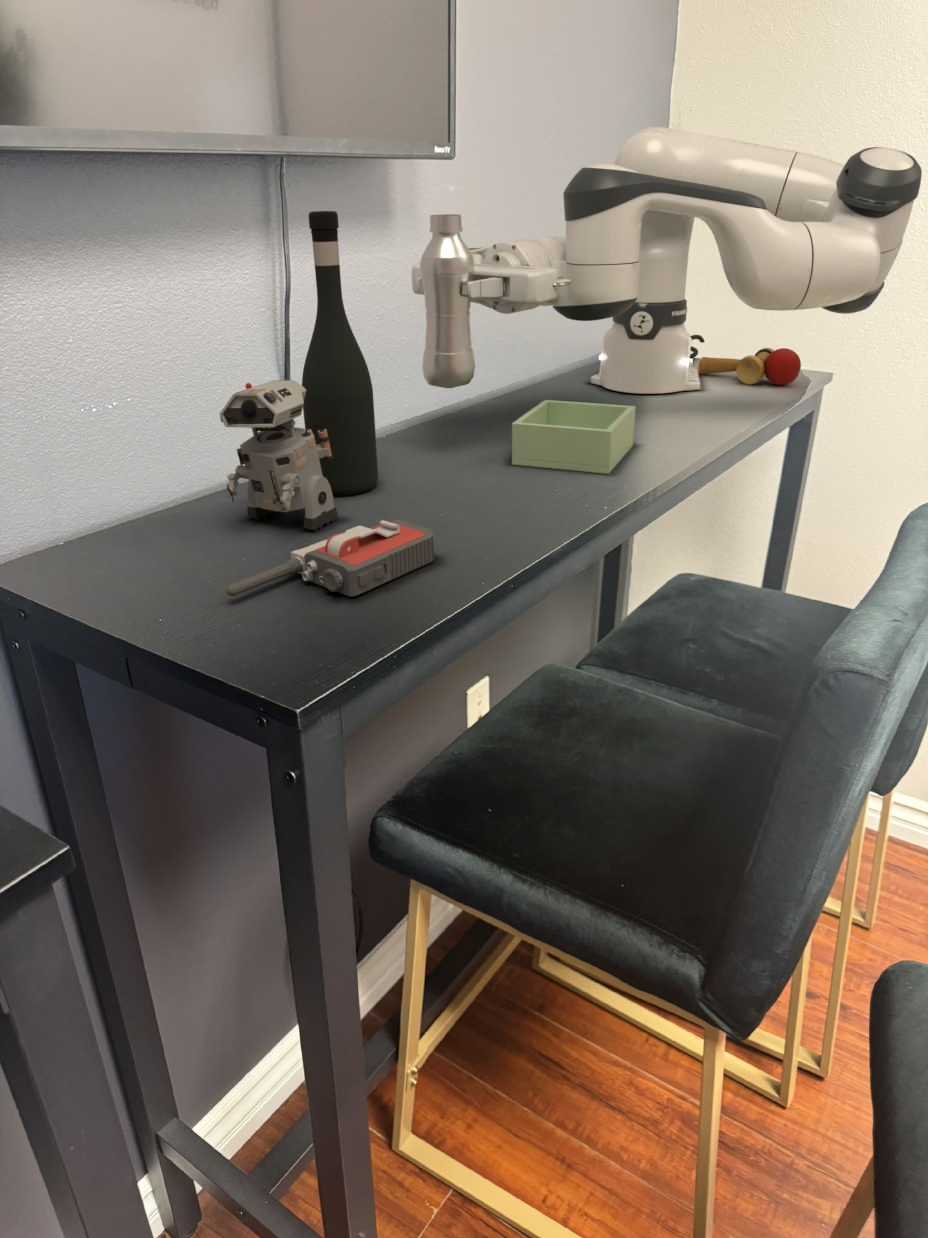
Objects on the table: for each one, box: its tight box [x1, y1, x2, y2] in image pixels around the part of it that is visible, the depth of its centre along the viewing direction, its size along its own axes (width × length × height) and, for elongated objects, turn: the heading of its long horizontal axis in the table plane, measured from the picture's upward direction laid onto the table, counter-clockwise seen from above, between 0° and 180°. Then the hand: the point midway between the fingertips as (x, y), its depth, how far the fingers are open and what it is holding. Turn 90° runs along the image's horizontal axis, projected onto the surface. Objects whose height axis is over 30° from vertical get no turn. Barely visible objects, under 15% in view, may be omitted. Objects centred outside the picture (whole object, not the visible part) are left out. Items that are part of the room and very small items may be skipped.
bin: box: [511, 399, 636, 475], centre depth 116 cm, size 14×13×5 cm
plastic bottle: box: [419, 213, 476, 389], centre depth 110 cm, size 6×7×20 cm
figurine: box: [219, 379, 338, 532], centre depth 92 cm, size 9×12×15 cm
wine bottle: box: [301, 210, 379, 496], centre depth 100 cm, size 8×8×30 cm
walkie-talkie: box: [225, 518, 435, 598], centre depth 82 cm, size 9×4×20 cm
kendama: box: [698, 347, 802, 386], centre depth 156 cm, size 8×6×18 cm
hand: (442, 287), depth 108 cm, fingers closed on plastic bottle, 6 cm apart
